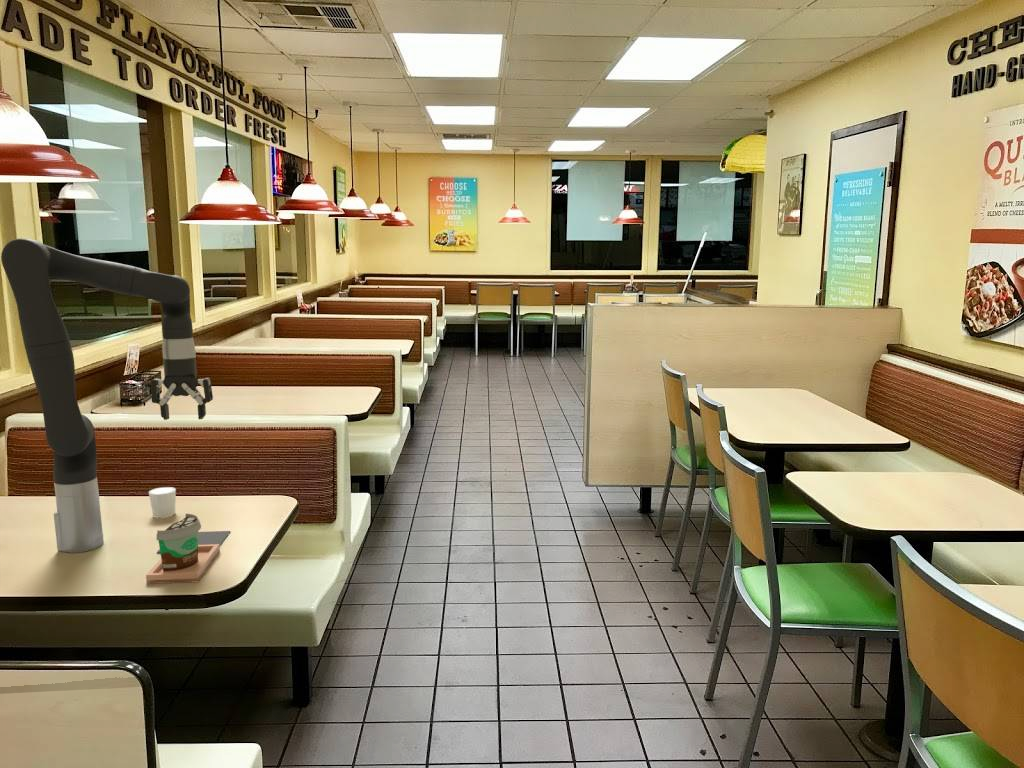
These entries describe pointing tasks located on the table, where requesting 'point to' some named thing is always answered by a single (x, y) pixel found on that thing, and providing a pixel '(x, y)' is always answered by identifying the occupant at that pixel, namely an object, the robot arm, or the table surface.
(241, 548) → the table surface
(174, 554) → the food container
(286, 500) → the table surface
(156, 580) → the dish
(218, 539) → the mat
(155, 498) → the white cup
